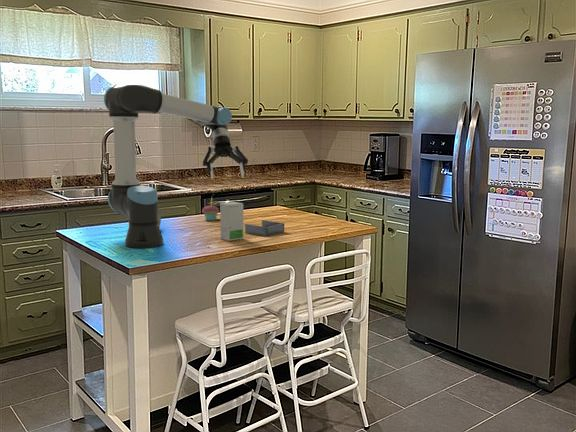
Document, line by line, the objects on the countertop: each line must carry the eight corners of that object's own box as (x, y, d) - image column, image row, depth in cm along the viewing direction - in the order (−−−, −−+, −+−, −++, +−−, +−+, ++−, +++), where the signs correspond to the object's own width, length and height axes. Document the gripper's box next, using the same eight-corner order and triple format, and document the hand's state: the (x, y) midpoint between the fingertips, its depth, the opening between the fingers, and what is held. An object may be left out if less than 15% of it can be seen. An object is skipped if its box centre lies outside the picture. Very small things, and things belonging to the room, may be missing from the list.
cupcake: (222, 220, 287) (221, 196, 285) (206, 221, 283) (206, 197, 280) (214, 217, 294) (213, 194, 292) (199, 219, 290) (198, 195, 287)
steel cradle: (266, 236, 250) (266, 227, 249) (245, 232, 257) (245, 224, 256) (284, 231, 259) (284, 223, 259) (263, 228, 267) (263, 220, 266)
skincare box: (228, 241, 240) (227, 205, 237) (219, 238, 245) (218, 203, 242) (244, 238, 245) (244, 203, 242) (235, 236, 250) (234, 201, 247)
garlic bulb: (154, 231, 259) (153, 210, 257) (138, 230, 261) (137, 208, 259) (165, 227, 267) (164, 206, 266) (149, 226, 270) (148, 205, 268)
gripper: (247, 144, 269) (254, 180, 257) (193, 146, 262) (198, 182, 251) (249, 134, 262) (256, 169, 251) (194, 135, 256) (200, 172, 245)
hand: (227, 176), depth 251 cm, fingers open, 13 cm apart
